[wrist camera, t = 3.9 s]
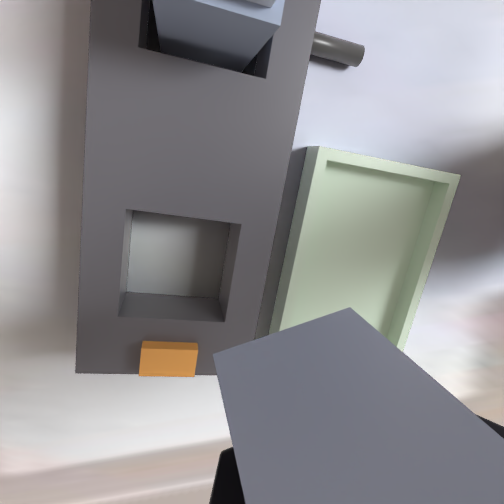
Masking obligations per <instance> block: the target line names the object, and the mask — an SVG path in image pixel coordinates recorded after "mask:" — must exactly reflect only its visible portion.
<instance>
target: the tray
mask: <svg viewBox="0 0 504 504" xmlns="http://www.w3.org/2000/svg"><path fill="white" fill-rule="evenodd" d="M460 177H461V175H458V174H453V173H448V172H444V171H439V170H434V169H429V168H424V167H419V166H414V165H409V164H404V163H399V162H395V161H390V160H385V159H380V158H375V157H370V156H365V155H360V154H355V153H350V152H346V151H341V150H336V149H331V148H326V147H321V146H308V147H307V152H306V156H305V161H304V166H303V171H302V176H301V180H300V185H299V190H298V195H297V200H296V204H295V209H294V214H293V219H292V224H291V228H290V233H289V238H288V243H287V248H286V252H285V257H284V262H283V267H282V272H281V276H280V281H279V286H278V291H277V296H276V300H275V305H274V310H273V315H272V320H271V324H270V329H269V334H268V335H270V334H273V333H276V332H279V331H282V330H284V329H287V328H290V327H293V326H296V325H299V324H302V323H305V322H308V321H311V320H314V319H316V318H319V317H322V316H325V315H328V314H331V313H334V312H337V311H340V310H343V309H346V308H349V307H351V308H352V309H353V310H354V311H355V312H356V313H358V314H359V315H360V316H361V317H362V318H363V319H365V320H366V321H367V322H368V323H369V324H370V325H372V326H373V327H374V328H375V329H376V330H377V331H379V332H380V333H381V334H382V335H383V336H384V337H386V338H387V339H388V340H389V341H390V342H391V343H393V344H394V345H395V346H396V347H397V348H398V349H400V350H401V351H402V352H403V350H404V347H405V344H406V341H407V338H408V335H409V332H410V329H411V325H412V322H413V319H414V316H415V313H416V310H417V307H418V304H419V301H420V298H421V295H422V292H423V289H424V286H425V283H426V280H427V277H428V274H429V271H430V268H431V265H432V262H433V259H434V256H435V253H436V250H437V247H438V244H439V241H440V238H441V235H442V231H443V228H444V225H445V222H446V219H447V216H448V213H449V210H450V207H451V204H452V201H453V198H454V195H455V192H456V189H457V186H458V183H459V180H460Z"/></svg>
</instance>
